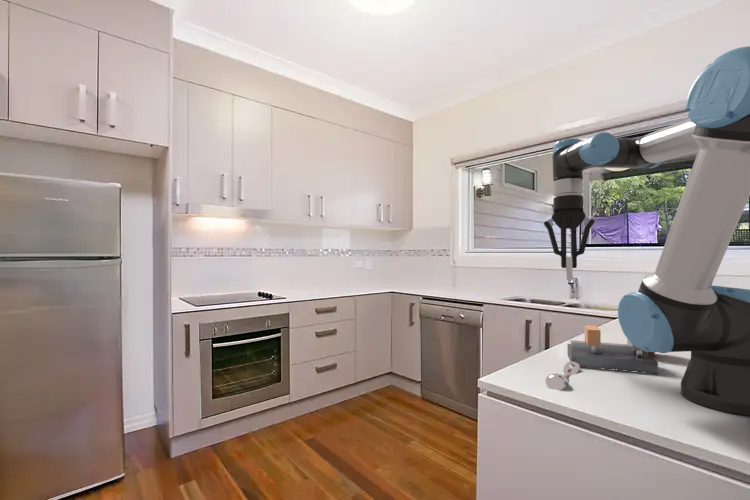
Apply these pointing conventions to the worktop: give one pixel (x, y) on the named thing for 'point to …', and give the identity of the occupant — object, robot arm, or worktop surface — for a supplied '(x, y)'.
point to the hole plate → (613, 360)
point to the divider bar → (610, 348)
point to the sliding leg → (592, 336)
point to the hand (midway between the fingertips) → (569, 279)
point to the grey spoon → (561, 377)
